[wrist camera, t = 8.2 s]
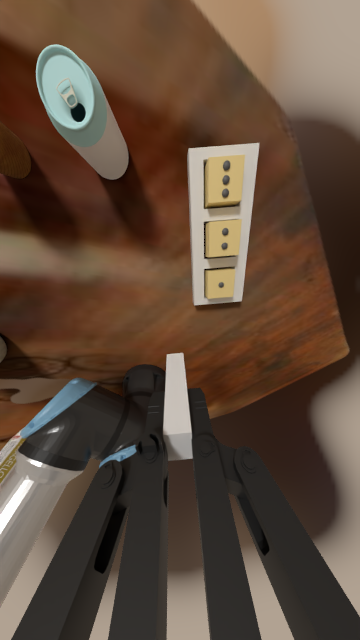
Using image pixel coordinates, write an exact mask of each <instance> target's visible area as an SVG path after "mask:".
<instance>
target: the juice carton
mask: <svg viewBox="0 0 360 640" xmlns="http://www.w3.org/2000/svg"><path fill="white" fill-rule="evenodd" d="M23 429H24V428H23ZM23 429H22V430H23ZM22 430H21V431H22ZM21 431H20V432H21ZM20 432H18V433H17V434H16V435H15V436H14V437H12V438H11V440H10V441H9V442H8V443H7V444H6V445H5V446H4V448H3V449H2V450H1V451H0V488H1V487H2V486H3V484H4V483H5V482H6V480H7V479H8V478H9V476H10V475H11V474H12V472H13V471H14V469H15V467H16V451H17V450H18V449H19V447H20V446H21V445H22V443H23V442H24V441H25V440H26V438H25V439H24V438H22V436H21V435H20Z"/></svg>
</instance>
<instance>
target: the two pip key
mask: <svg viewBox="0 0 360 640" xmlns="http://www.w3.org/2000/svg"><path fill="white" fill-rule="evenodd" d="M241 223H242V219H238V220H226V221H214V222H209V223H207V224H206V257H218V256H230V255H239V246H240V235H241Z"/></svg>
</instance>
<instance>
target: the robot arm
mask: <svg viewBox="0 0 360 640" xmlns="http://www.w3.org/2000/svg"><path fill="white" fill-rule="evenodd" d="M122 390H123V397H122V396H119V395H117V394H115V393H113V392H111V391H109V390H107V389H105V388H103V387H101V386H99V385H97V383H93V382H91V381H88V380H86V379H83V378H75V379H73V380H71V381H70V382H69V383H68V384H67V385H66V386H65V387H64V388H63V389H62V390H61V391H60V392H59V393H58V394H57V395H56V396H55V397H54V398H53V399H52V400H51V401H50V402H49V403H48V404H47V405H46V406H45V407H44V408H43V409H42V410H41V411H40V412H39V413H38V414H37V415H36V416H35V417H34V418H33V419H32V420H31V421H30V422H29V424H28V425H27V426H25V428H24V429H23V430H22V431H21V432H20V435H21V436H22V438H24V439H25V438H26V440H25V441H24V442H23V443H22V445H21V446H20V447H19V449H18V450H17V451H16V467H15V469H14V471H13V472H12V474H11V475H10V476H9V478H8V479H7V480H6V482H5V483H4V484H3V486H2V487H1V488H0V607H1V605H2V603H3V601H4V600H5V598H6V596H7V594H8V592H9V590H10V588H11V587H12V585H13V583H14V581H15V579H16V577H17V575H18V574H19V572H20V570H21V568H22V566H23V564H24V563H25V561H26V559H27V557H28V555H29V553H30V551H31V550H32V548H33V546H34V544H35V542H36V540H37V538H38V537H39V535H40V533H41V531H42V529H43V527H44V526H45V524H46V522H47V520H48V518H49V516H50V515H51V513H52V510H53V509H54V507H55V505H56V503H57V502H58V500H59V498H60V496H61V494H62V492H63V490H64V489H65V487H66V485H67V483H68V482H69V481H70V480H72V479H73V478H75V477H76V476H78V475H79V474H81V473H82V472H83V471H84V469H85V467H86V465H87V463H88V461H89V459H90V458H94V459H97V460H100V461H101V463H100V465H99V470H98V471H97V473H96V475H95V477H94V478H93V480H92V483H91V484H90V486H89V488H88V490H87V492H86V494H85V496H84V498H83V500H82V502H81V504H80V506H79V508H78V510H77V512H76V514H75V516H74V518H73V520H72V522H71V524H70V526H69V528H68V529H67V532H66V533H65V535H64V537H63V539H62V541H61V543H60V545H59V547H58V549H57V551H56V553H55V555H54V557H53V559H52V561H51V563H50V565H49V567H48V569H47V571H46V573H45V575H44V577H43V578H42V580H41V583H40V584H39V586H38V588H37V590H36V593H35V594H34V596H33V598H32V600H31V602H30V604H29V606H28V608H27V610H26V612H25V614H24V616H23V618H22V620H21V622H20V624H19V626H18V628H17V630H16V631H15V633H14V635H13V637H12V639H11V640H89V638H90V634H91V631H92V628H93V624H94V622H95V618H96V615H97V612H98V609H99V605H100V602H101V599H102V595H103V593H104V589H105V586H106V583H107V580H108V577H109V573H110V570H111V567H112V563H113V560H114V557H115V554H116V551H117V548H118V545H119V541H120V538H121V535H122V531H123V528H124V525H125V522H126V519H127V516H128V521H127V527H126V533H125V539H124V546H123V551H122V557H121V564H120V570H119V576H118V582H117V588H116V594H115V600H114V607H113V612H112V618H111V624H110V631H109V637H108V640H166V631H167V629H166V628H167V559H168V557H167V556H168V485H169V481H168V480H169V477H168V476H169V474H168V461H171V460H181V459H191V458H193V465H194V479H195V487H196V498H197V508H198V519H199V529H200V539H201V550H202V560H203V570H204V581H205V591H206V601H207V612H208V621H209V632H210V640H261V636H260V632H259V627H258V622H257V618H256V614H255V609H254V605H253V601H252V596H251V592H250V587H249V583H248V579H247V574H246V570H245V566H244V561H243V557H242V553H241V548H240V544H239V539H238V535H237V531H236V526H235V522H234V518H233V513H232V509H231V504H230V500H229V496H228V493H230V494H233V495H234V496H235V499H236V501H237V504H238V506H239V508H240V511H241V513H242V515H243V518H244V520H245V523H246V525H247V527H248V529H249V532H250V535H251V537H252V539H253V542H254V544H255V546H256V549H257V551H258V554H259V556H260V558H261V561H262V563H263V565H264V568H265V570H266V573H267V575H268V578H269V580H270V582H271V585H272V587H273V589H274V592H275V594H276V597H277V599H278V601H279V604H280V606H281V609H282V611H283V613H284V616H285V618H286V621H287V623H288V625H289V628H290V630H291V632H292V635H293V637H294V640H360V617H359V615H358V614H357V612H356V610H355V609H354V607H353V605H352V604H351V602H350V601H349V599H348V598H347V596H346V594H345V593H344V591H343V589H342V588H341V586H340V585H339V583H338V581H337V580H336V578H335V577H334V575H333V573H332V572H331V570H330V569H329V567H328V565H327V564H326V562H325V561H324V559H323V557H322V556H321V554H320V553H319V551H318V549H317V548H316V546H315V545H314V543H313V541H312V540H311V538H310V537H309V535H308V533H307V532H306V530H305V529H304V527H303V525H302V524H301V522H300V521H299V519H298V517H297V516H296V514H295V513H294V511H293V509H292V508H291V506H290V505H289V503H288V501H287V500H286V498H285V497H284V495H283V493H282V492H281V490H280V489H279V487H278V485H277V484H276V482H275V481H274V479H273V477H272V476H271V475H270V473H269V471H268V469H267V468H266V466H265V465H264V463H263V461H262V460H261V458H260V457H259V456H258V454H257V453H256V452H255V451H254V450H252V449H251V448H249V447H245V446H244V447H239V448H238V449H234V448H231V447H227V446H225V445H223V444H221V443H220V442H219V441H218V440H217V439H216V438H215V436H214V435H213V431H212V428H211V423H210V418H209V414H208V409H207V405H206V401H205V396H204V393H203V392H202V390H201V389H200V388H193V389H187V384H186V375H185V366H184V356H183V353H176V354H167V364H166V373H165V372H164V371H163V370H162V369H161V368H159V367H156V366H153V365H146V364H145V365H138V366H135V367H133V368H131V369H130V370H128V372H127V373H126V374H125V377H124V380H123V384H122ZM128 513H129V515H128Z"/></svg>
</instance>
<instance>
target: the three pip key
mask: <svg viewBox="0 0 360 640" xmlns="http://www.w3.org/2000/svg"><path fill="white" fill-rule="evenodd" d="M244 162H245V155H232V156H220V157H209V158H208V160H207V163H206V165H205V168H204V191H205V208H213V207H225V206H234V205H236V204H237V203H238V202H240V201H241V198H242V186H243V174H244Z"/></svg>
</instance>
